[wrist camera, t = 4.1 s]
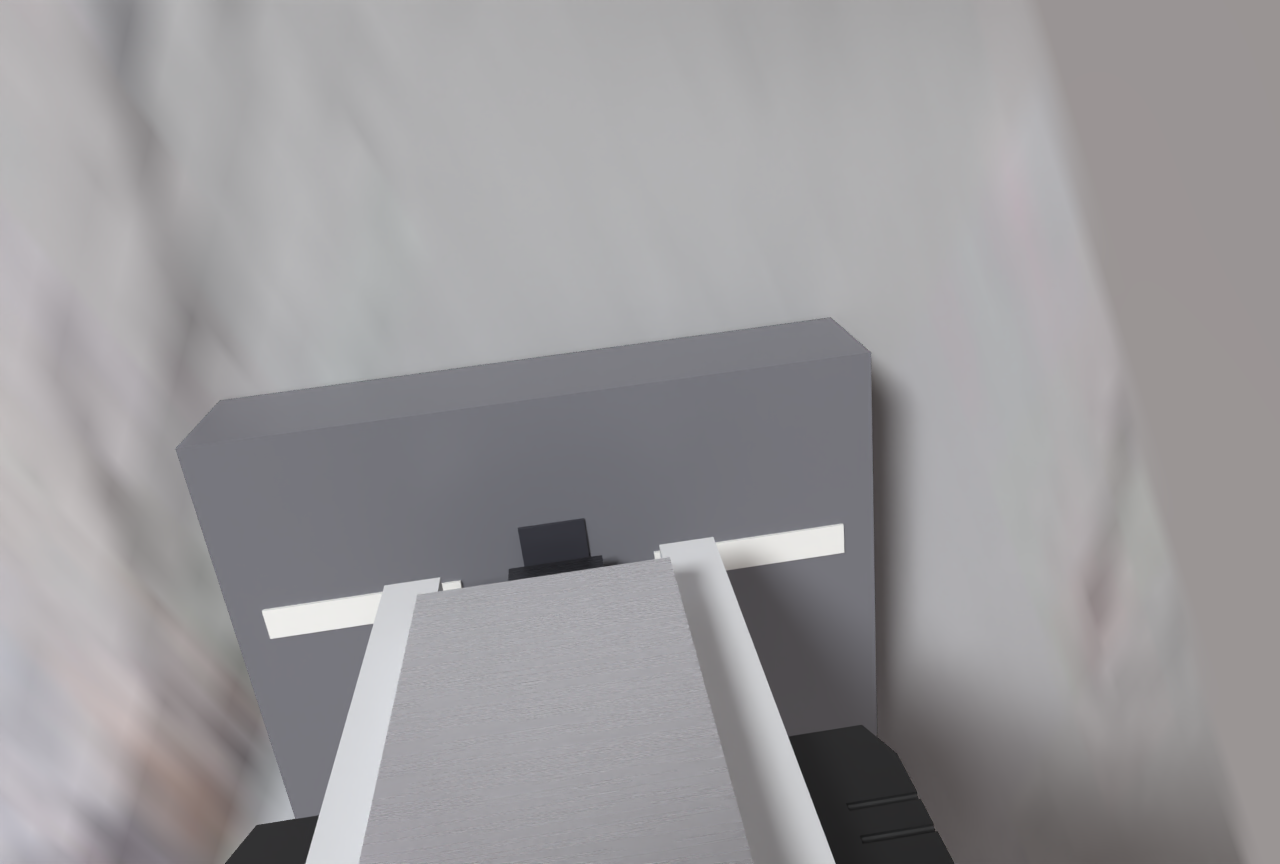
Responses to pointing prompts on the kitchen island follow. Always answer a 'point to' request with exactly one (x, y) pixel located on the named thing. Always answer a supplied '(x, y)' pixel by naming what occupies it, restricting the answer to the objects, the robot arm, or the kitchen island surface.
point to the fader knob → (554, 728)
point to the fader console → (547, 507)
